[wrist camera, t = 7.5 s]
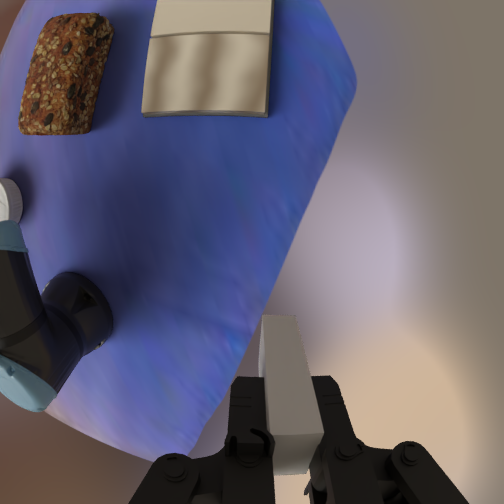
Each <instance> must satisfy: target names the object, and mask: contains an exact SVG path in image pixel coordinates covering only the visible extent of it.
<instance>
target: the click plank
mask: <svg viewBox="0 0 504 504" xmlns="http://www.w3.org/2000/svg"><path fill="white" fill-rule="evenodd" d="M268 51H269V35H254V34H196V35H181V36H170V37H160V38H152V39H150V42H149V49H148V56H147V63H146V71H145V79H144V89H143V99H142V111H141V113H144V114H162V113H190V112H220V113H249V114H264V113H265V100H266V84H267V68H268Z"/></svg>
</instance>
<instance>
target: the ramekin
mask: <svg viewBox="0 0 504 504" xmlns="http://www.w3.org/2000/svg"><path fill="white" fill-rule="evenodd" d="M22 210H23V201H22V196H21V192H20V190H19V188H18V186H17V185H16V183H15V182H14V181H12V180H11V179H7V178H0V221H5V220H13V221H15V222H16V223H19V221H20V218H21V215H22Z"/></svg>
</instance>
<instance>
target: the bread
mask: <svg viewBox="0 0 504 504" xmlns="http://www.w3.org/2000/svg"><path fill="white" fill-rule="evenodd" d="M113 34H114V28H113V26H112V24H110V23H109V20H108V19H107V18H106V17H103V16H100V15H99V13H98V14H97V13H74V14H64V15H60V16H57V17H52V18H51V19H49V20H48V21H47V22H46V24H45V25H44V27H43V29H42V31H41V33H40V35H39V38H38V39H37V44H36V46H35V49H34V52H33V56H32V59H31V62H30V68H29V72H28V74H27V79H26V85H25V89H24V92H23V96H22V101H21V107H20V112H19V117H18V119H19V122H18V124H19V126H18V127H19V130H20V132H21V133H22V134H24V135H78V134H86V133H89V131H90V129H91V124H92V117H93V112H94V109H95V102H96V100H97V96H98V90H99V85H100V83H101V78H102V75H103V71H104V67H105V66H104V64H105V62H106V61H107V57H108V53H109V50H110V46H111V43H112V36H113Z"/></svg>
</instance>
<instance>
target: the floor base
mask: <svg viewBox="0 0 504 504" xmlns="http://www.w3.org/2000/svg"><path fill="white" fill-rule="evenodd" d="M273 19H274V0H158V1H157V5H156V10H155V15H154V20H153V25H152V30H151V37H152V38H160V37H170V36H181V35H196V34H254V35H269V51H268V68H267V84H266V100H265V113H264V114H249V113H220V112H190V113H162V114H144V113H143V117H145V118H147V117H165V116H243V117H261V118H268V105H269V88H270V72H271V54H272V37H273Z"/></svg>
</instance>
